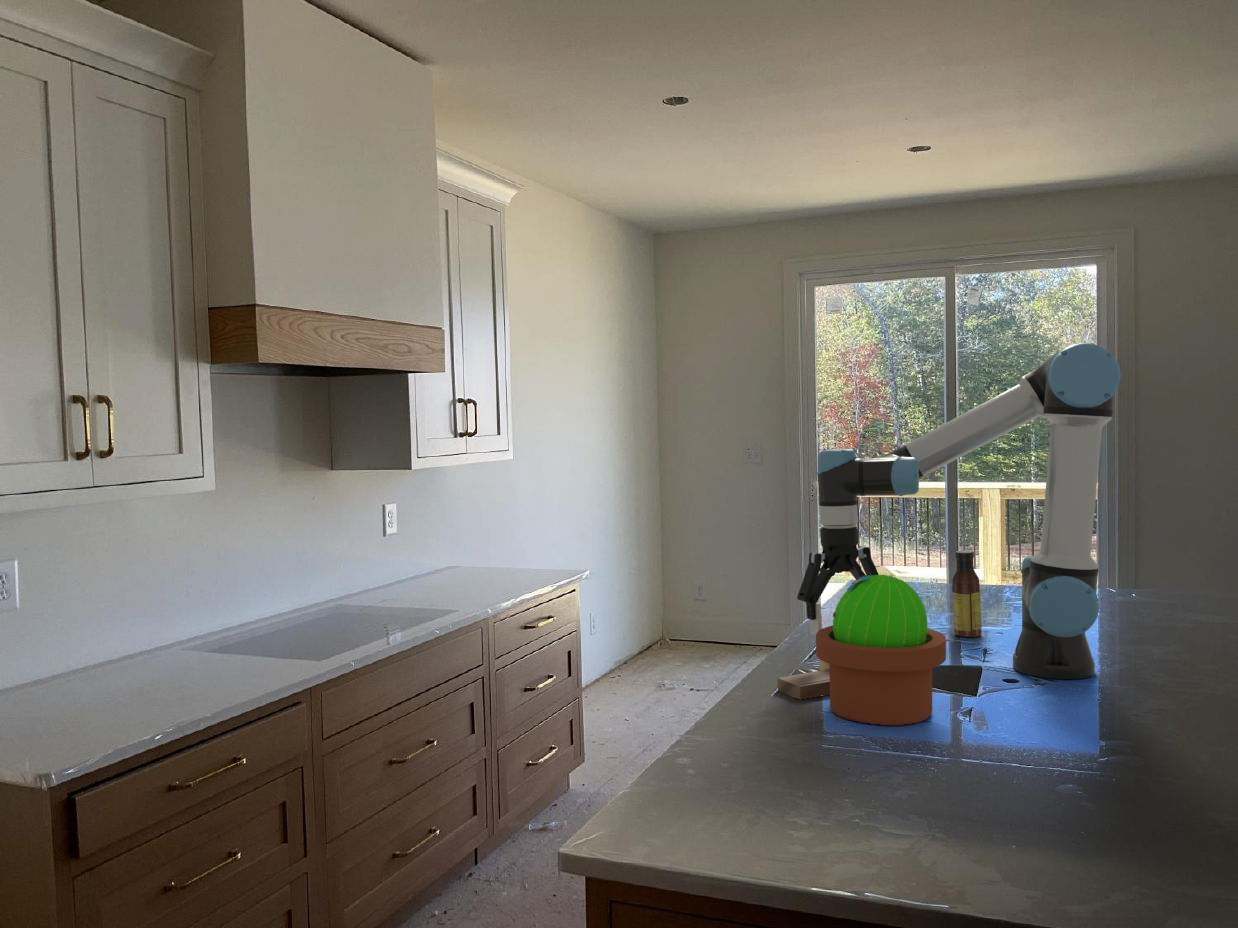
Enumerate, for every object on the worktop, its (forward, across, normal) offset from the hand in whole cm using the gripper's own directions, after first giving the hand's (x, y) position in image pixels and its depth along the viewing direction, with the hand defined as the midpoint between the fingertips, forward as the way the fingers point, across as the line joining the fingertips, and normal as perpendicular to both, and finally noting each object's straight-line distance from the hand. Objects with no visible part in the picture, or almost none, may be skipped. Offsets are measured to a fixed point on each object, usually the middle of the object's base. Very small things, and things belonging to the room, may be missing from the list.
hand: (843, 630), depth 196 cm
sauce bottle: (+10, -46, -12) cm, 49 cm away
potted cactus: (+9, +11, +22) cm, 26 cm away
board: (+9, +8, +6) cm, 13 cm away
